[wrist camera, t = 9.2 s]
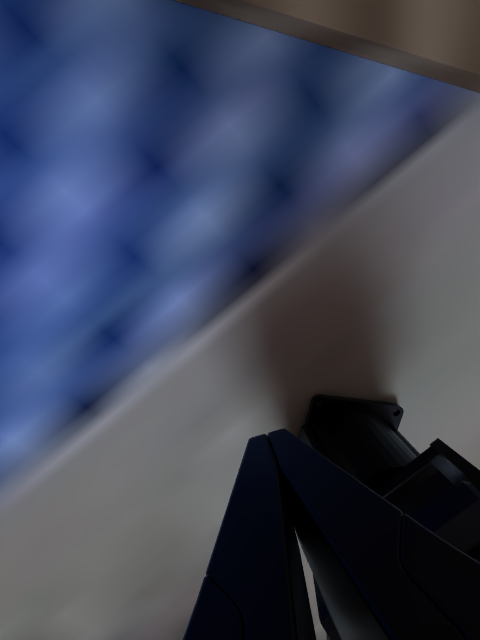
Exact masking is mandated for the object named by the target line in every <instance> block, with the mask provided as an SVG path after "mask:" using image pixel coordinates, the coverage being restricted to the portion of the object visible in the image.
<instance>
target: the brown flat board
mask: <svg viewBox="0 0 480 640" xmlns="http://www.w3.org/2000/svg"><path fill="white" fill-rule="evenodd" d="M175 1H178V2H181V3H185V4H188V5H191V6H194V7H198V8H201V9H204V10H208V11H211V12H214V13H218V14H221V15H224V16H228V17H231V18H234V19H237V20H241V21H244V22H247V23H251V24H254V25H257V26H261V27H264V28H267V29H271V30H274V31H277V32H280V33H284V34H287V35H290V36H294V37H297V38H300V39H304V40H307V41H310V42H314V43H317V44H320V45H323V46H327V47H330V48H333V49H337V50H340V51H343V52H347V53H350V54H353V55H357V56H360V57H363V58H366V59H370V60H373V61H376V62H380V63H383V64H386V65H390V66H393V67H396V68H399V69H403V70H406V71H409V72H413V73H416V74H419V75H423V76H426V77H429V78H433V79H436V80H439V81H442V82H446V83H449V84H452V85H456V86H459V87H462V88H466V89H469V90H472V91H476V92H479V93H480V0H175Z"/></svg>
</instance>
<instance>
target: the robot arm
mask: <svg viewBox="0 0 480 640" xmlns="http://www.w3.org/2000/svg"><path fill="white" fill-rule="evenodd" d="M319 401H322V403H321V404H320V405H317V403H318V402H319ZM395 410H397V411H396V412H395V413H393V412H394V411H395ZM403 412H404V411H403V409H402V408H401V407H400V406H399V405H398V404H396V403H387V402H379V401H370V400H361V399H353V398H344V397H335V396H327V395H316V396H314V397H313V398H312V400H311V403H310V407H309V411H308V415H307V418H306V422H305V424H304V425H303V426H302V427H301V430H300V434H299V438H298V437H296V436H295V435H293V434H292V433H290V432H289V431H288V430H286V429H279V430H276V431H272V432H269V433H268V436H267V435H266V434H262V435H259V436H255V437H252V438H250V439H249V441H248V444H247V447H246V450H245V453H244V456H243V459H242V462H241V465H240V468H239V472H238V475H237V478H236V481H235V484H234V487H233V490H232V493H231V496H230V499H229V503H228V506H227V509H226V512H225V515H224V518H223V521H222V524H221V527H220V531H219V534H218V537H217V540H216V543H215V546H214V549H213V552H212V555H211V558H210V562H209V565H208V568H207V571H206V577H204V579H203V583H202V586H201V589H200V592H199V595H198V598H197V601H196V604H195V607H194V610H193V613H192V615H191V618H190V621H189V624H188V627H187V630H186V632H185V635H184V638H183V640H316V635H315V630H314V624H313V619H312V614H311V608H310V603H309V598H308V592H307V587H306V582H305V576H304V571H303V566H302V560H301V555H300V550H299V545H298V540H297V537H298V539H299V542H300V544H301V547H302V549H303V552H304V554H305V556H306V559H307V561H308V563H309V565H310V568H311V570H312V572H313V578H314V585H315V592H316V599H317V606H318V613H319V619H320V622H321V624H322V626H323V628H324V630H325V631H326V633H327V640H480V470H478V469H477V468H476V467H475V466H473V465H472V464H471V463H469V462H468V461H467V460H466V459H464V458H463V457H462V456H460V455H459V454H458V453H457V452H455V451H454V450H453V449H451V448H450V447H449V446H448V445H446V444H445V443H444V442H442V441H441V440H440V439H438V438H437V439H436V440H435V441H433V442H432V443H431V444H430V447H429V448H428V449H426V450H425V451H424V452H423V453H421V454H420V453H419V452H418V451H417V450H416V449H415V448H414V447H413V446H412V445H411V444H410V443H409V442H408V441H407V440H406V439H405V438H404V437H403V436H402V435H401V433H400V432H399V431H398V427H399V424H400V421H401V419H402V416H403ZM294 528H295V529H294ZM295 531H296V532H295ZM296 534H297V536H296Z"/></svg>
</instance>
